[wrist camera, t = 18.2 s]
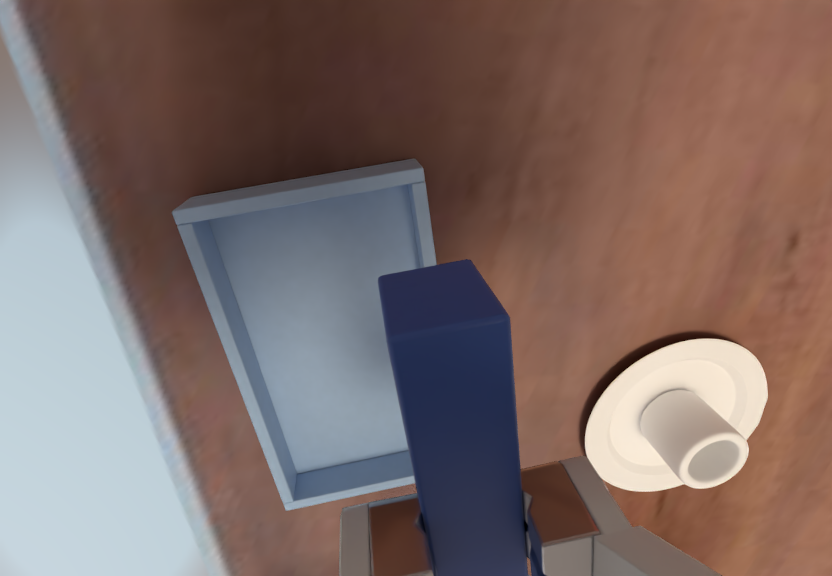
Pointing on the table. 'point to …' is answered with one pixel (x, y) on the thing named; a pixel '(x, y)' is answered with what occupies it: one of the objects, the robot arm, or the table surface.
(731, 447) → the candle holder
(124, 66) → the table surface
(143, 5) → the table surface
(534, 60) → the table surface
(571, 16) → the table surface
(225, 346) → the blue tray
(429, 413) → the blue spoon
